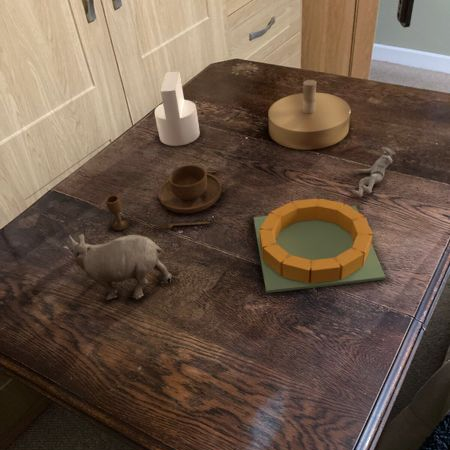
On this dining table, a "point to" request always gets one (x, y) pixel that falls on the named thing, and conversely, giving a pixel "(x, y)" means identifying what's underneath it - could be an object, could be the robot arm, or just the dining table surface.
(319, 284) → the mat
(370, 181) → the soldier figure
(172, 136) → the base with upright slab
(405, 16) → the robot arm
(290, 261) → the ring
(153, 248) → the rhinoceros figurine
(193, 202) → the place setting
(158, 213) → the dining table surface
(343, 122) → the ring stand
